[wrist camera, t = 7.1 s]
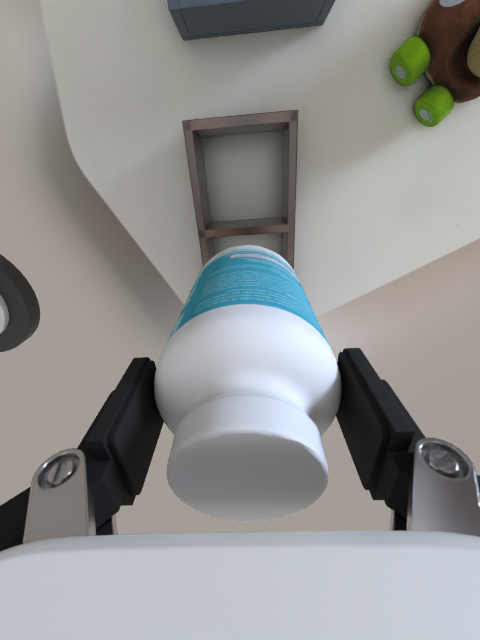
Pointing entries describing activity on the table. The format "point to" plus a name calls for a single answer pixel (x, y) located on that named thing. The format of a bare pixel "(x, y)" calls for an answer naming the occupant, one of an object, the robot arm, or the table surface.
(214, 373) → the pill bottle
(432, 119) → the toy car
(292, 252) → the rack
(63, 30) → the table surface
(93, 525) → the robot arm
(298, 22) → the blue square tray
